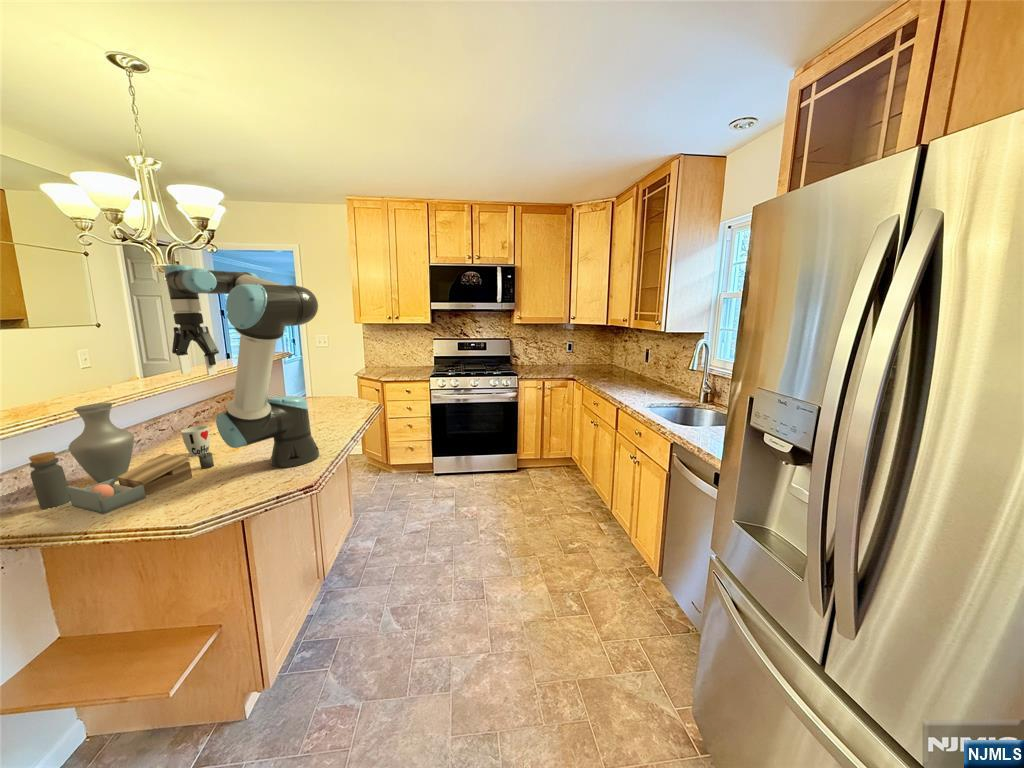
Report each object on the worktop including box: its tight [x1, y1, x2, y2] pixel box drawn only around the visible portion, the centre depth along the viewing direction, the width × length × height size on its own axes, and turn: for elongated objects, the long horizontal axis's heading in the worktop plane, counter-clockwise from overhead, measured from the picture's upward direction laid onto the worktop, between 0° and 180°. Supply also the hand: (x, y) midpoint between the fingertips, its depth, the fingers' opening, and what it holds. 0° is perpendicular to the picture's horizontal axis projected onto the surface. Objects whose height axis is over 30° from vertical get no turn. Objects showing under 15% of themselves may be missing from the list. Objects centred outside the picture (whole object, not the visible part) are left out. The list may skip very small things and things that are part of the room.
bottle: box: [28, 451, 71, 510], centre depth 107 cm, size 6×6×15 cm
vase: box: [68, 402, 135, 484], centre depth 122 cm, size 14×14×25 cm
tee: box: [197, 451, 215, 470], centre depth 132 cm, size 4×4×5 cm
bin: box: [67, 479, 147, 515], centre depth 109 cm, size 15×10×6 cm, turn 71°
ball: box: [91, 484, 114, 499], centre depth 107 cm, size 5×5×5 cm
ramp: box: [117, 453, 194, 497], centre depth 119 cm, size 12×13×7 cm
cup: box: [180, 425, 211, 457], centre depth 145 cm, size 8×8×10 cm
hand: (199, 374), depth 134 cm, fingers open, 13 cm apart
